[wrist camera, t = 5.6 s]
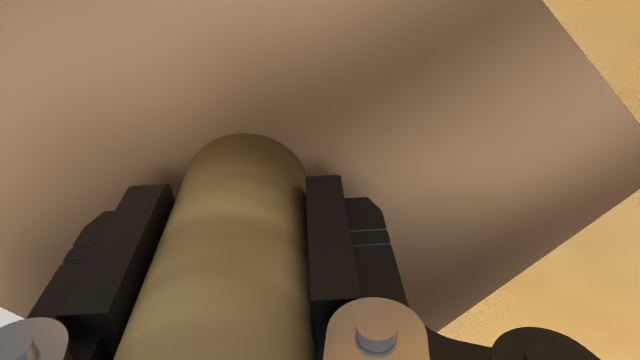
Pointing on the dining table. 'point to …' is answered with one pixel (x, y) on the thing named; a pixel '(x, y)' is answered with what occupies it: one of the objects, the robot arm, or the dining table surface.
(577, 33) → the dining table surface
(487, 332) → the dining table surface
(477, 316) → the dining table surface
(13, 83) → the lid
